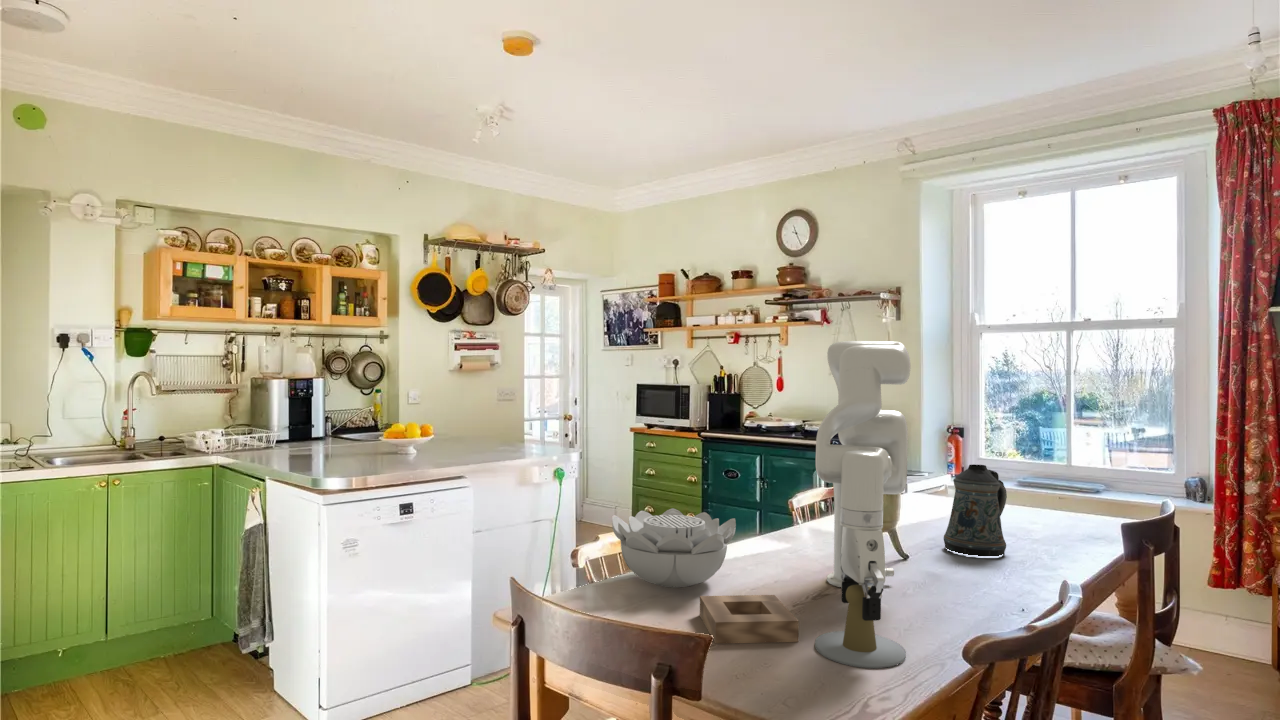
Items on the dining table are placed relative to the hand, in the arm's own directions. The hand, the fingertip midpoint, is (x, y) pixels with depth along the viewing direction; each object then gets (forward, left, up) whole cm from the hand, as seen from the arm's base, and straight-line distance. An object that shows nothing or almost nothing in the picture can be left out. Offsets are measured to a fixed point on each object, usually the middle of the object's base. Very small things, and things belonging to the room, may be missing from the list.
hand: (860, 610), depth 136 cm
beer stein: (-65, -72, -7) cm, 97 cm away
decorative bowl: (+27, -45, -7) cm, 53 cm away
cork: (0, 0, -7) cm, 7 cm away
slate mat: (0, 0, -7) cm, 7 cm away
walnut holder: (+18, -13, -7) cm, 23 cm away
